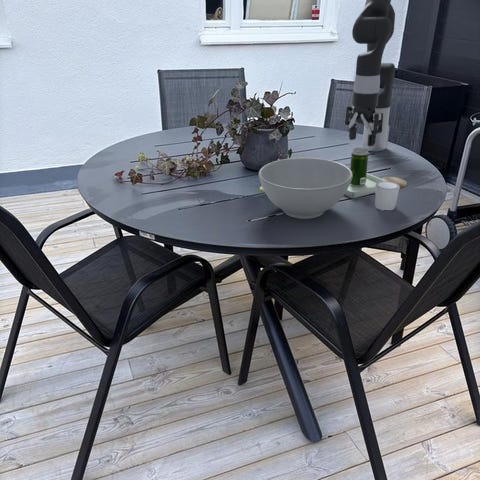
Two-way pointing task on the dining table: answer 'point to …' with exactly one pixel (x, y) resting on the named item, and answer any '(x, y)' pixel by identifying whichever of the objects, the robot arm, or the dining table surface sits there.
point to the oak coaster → (396, 181)
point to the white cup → (386, 195)
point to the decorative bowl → (305, 185)
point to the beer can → (359, 166)
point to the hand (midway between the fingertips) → (361, 142)
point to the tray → (364, 187)
